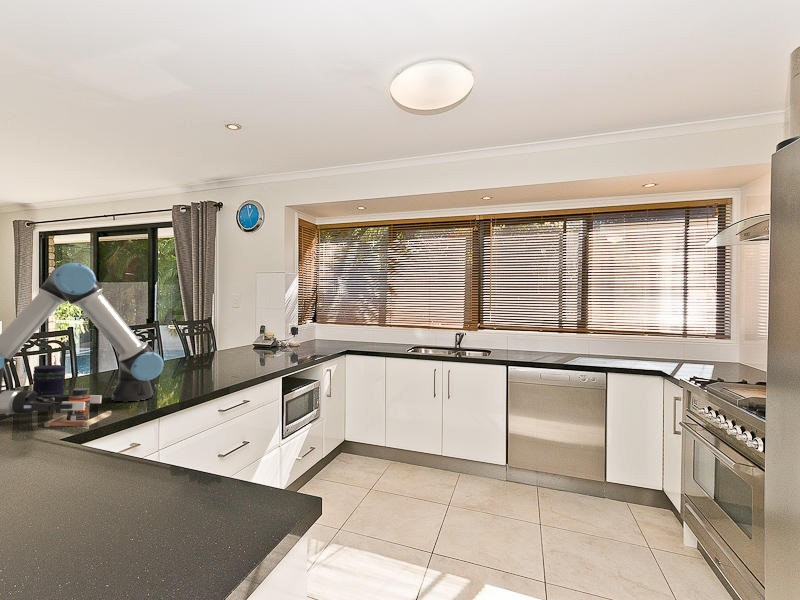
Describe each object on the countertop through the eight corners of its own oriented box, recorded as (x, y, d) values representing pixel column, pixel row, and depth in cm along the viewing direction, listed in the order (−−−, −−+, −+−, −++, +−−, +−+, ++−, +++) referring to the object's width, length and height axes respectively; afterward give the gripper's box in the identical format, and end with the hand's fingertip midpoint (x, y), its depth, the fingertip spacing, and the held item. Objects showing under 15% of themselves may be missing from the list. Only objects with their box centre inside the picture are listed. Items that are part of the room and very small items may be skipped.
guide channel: (73, 414, 147) (73, 411, 147) (111, 414, 149) (111, 411, 149) (44, 426, 131) (44, 422, 131) (86, 426, 134) (87, 422, 134)
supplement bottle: (75, 424, 135) (78, 391, 136) (61, 422, 136) (64, 389, 137) (92, 420, 141) (95, 388, 142) (78, 418, 142) (81, 386, 143)
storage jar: (47, 407, 155) (51, 368, 156) (23, 405, 156) (26, 367, 156) (69, 401, 165) (72, 365, 166) (46, 400, 166) (49, 364, 166)
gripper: (40, 405, 146) (108, 406, 151) (-9, 422, 124) (72, 421, 129) (42, 385, 147) (110, 386, 151) (-7, 398, 125) (74, 398, 129)
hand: (92, 402), depth 140 cm, fingers open, 10 cm apart
